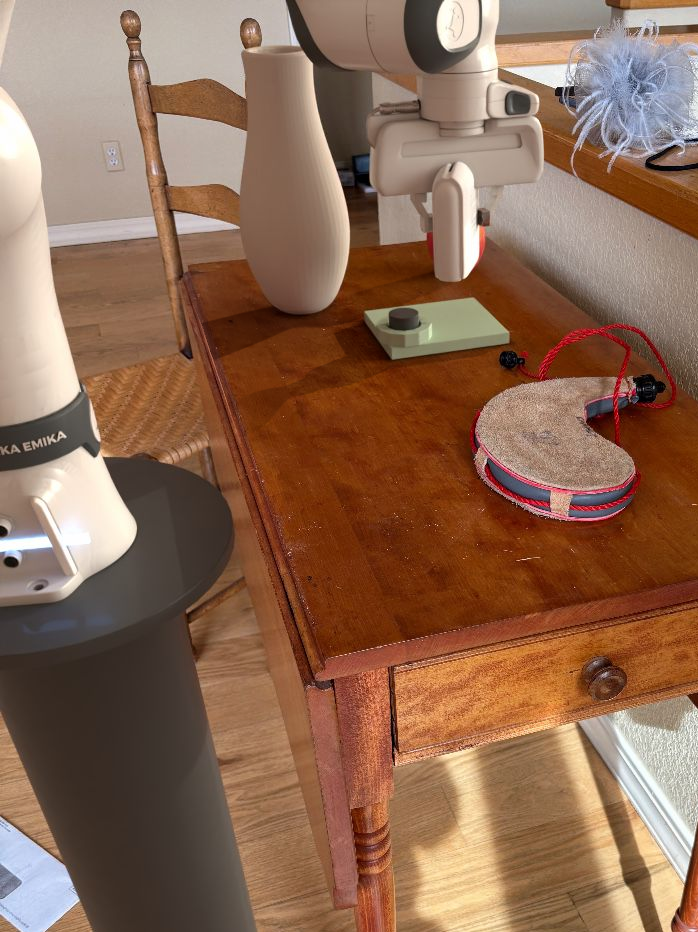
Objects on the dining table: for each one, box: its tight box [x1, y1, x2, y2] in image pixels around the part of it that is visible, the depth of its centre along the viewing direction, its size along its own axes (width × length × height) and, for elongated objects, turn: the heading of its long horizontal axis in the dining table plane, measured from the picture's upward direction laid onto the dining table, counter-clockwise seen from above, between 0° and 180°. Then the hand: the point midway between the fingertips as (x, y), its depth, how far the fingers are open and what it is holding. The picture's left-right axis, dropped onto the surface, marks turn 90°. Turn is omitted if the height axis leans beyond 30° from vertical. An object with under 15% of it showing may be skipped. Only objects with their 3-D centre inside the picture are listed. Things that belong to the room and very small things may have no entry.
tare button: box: [389, 308, 419, 331], centre depth 111 cm, size 4×4×2 cm
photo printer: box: [431, 162, 480, 283], centre depth 109 cm, size 10×4×12 cm, turn 168°
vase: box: [238, 44, 351, 316], centre depth 115 cm, size 14×14×30 cm
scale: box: [363, 297, 510, 361], centre depth 116 cm, size 16×13×3 cm
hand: (457, 228), depth 110 cm, fingers closed on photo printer, 6 cm apart
